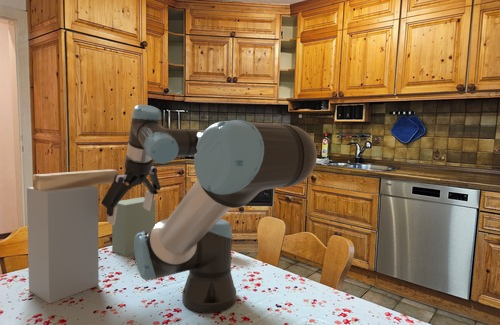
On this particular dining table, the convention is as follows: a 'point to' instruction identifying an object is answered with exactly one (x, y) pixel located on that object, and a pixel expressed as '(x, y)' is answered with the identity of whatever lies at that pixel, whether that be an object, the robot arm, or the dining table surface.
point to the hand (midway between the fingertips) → (129, 215)
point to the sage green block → (131, 224)
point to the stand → (62, 241)
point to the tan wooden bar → (72, 179)
